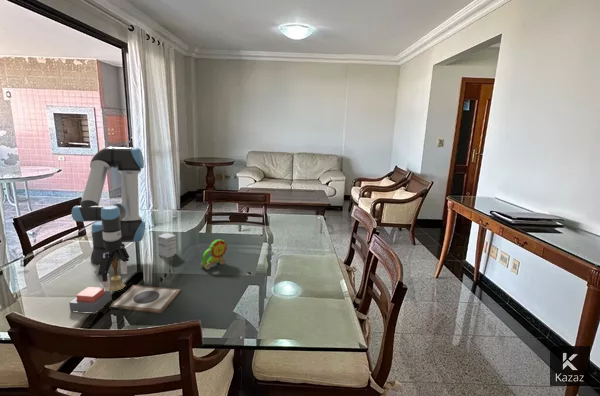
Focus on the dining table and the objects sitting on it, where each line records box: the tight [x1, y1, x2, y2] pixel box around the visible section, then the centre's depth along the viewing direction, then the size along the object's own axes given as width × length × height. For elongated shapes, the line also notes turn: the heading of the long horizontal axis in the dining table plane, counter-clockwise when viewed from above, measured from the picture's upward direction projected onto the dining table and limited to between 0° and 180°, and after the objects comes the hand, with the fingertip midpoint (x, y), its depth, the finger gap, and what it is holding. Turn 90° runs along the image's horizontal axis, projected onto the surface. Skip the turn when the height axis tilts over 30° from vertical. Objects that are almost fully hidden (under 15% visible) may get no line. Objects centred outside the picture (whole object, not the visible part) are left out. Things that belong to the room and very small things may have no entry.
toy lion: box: [200, 238, 228, 270], centre depth 186 cm, size 16×5×15 cm, turn 141°
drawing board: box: [110, 284, 182, 314], centre depth 150 cm, size 24×19×1 cm
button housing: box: [69, 290, 113, 312], centre depth 141 cm, size 11×11×4 cm
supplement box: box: [157, 232, 177, 259], centre depth 195 cm, size 7×7×13 cm
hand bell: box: [106, 257, 127, 292], centre depth 156 cm, size 8×8×16 cm
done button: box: [76, 286, 105, 303], centre depth 141 cm, size 7×7×3 cm
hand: (115, 279), depth 156 cm, fingers open, 13 cm apart
